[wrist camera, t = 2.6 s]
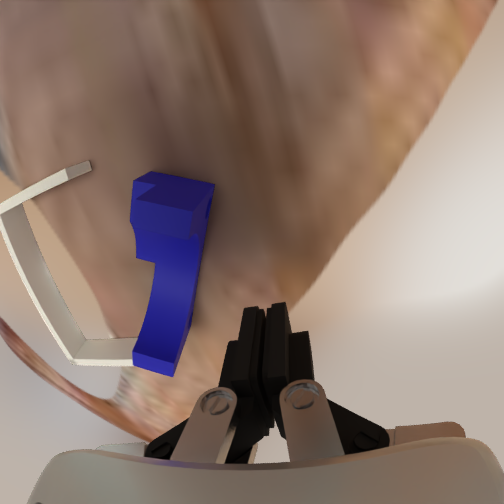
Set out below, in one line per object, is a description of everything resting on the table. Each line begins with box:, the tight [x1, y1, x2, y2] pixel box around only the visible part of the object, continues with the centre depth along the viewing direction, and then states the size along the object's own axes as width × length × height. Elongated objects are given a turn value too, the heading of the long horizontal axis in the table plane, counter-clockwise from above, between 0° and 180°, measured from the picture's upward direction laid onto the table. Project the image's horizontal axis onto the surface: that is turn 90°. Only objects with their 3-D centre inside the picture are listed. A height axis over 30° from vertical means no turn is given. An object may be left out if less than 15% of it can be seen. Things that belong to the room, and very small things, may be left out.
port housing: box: [0, 160, 138, 366], centre depth 21 cm, size 17×10×3 cm, turn 13°
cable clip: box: [130, 171, 215, 377], centre depth 19 cm, size 12×4×6 cm, turn 167°
